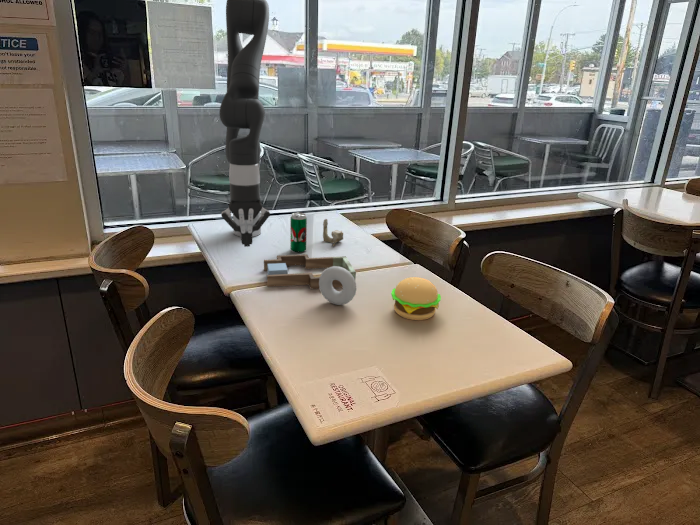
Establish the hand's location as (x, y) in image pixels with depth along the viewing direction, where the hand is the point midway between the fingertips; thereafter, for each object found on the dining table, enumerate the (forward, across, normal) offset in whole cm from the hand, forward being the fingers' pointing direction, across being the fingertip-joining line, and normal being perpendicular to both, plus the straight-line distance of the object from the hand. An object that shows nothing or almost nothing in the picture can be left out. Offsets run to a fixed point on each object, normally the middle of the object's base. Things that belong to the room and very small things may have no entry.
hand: (246, 245), depth 131 cm
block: (+10, -8, 0) cm, 13 cm away
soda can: (+10, -17, -21) cm, 29 cm away
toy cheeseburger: (+10, -39, +25) cm, 47 cm away
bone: (+10, -30, -27) cm, 41 cm away
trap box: (+10, -17, 0) cm, 19 cm away
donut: (+10, -21, +18) cm, 29 cm away
